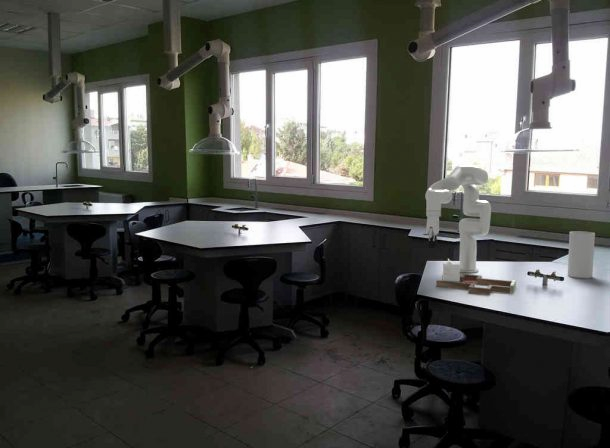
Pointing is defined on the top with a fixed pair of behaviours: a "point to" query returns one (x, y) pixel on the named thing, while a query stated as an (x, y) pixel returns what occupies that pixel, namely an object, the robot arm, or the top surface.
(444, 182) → the robot arm
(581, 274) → the cylinder vase
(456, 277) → the ink box
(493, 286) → the trap lane
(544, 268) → the top surface
